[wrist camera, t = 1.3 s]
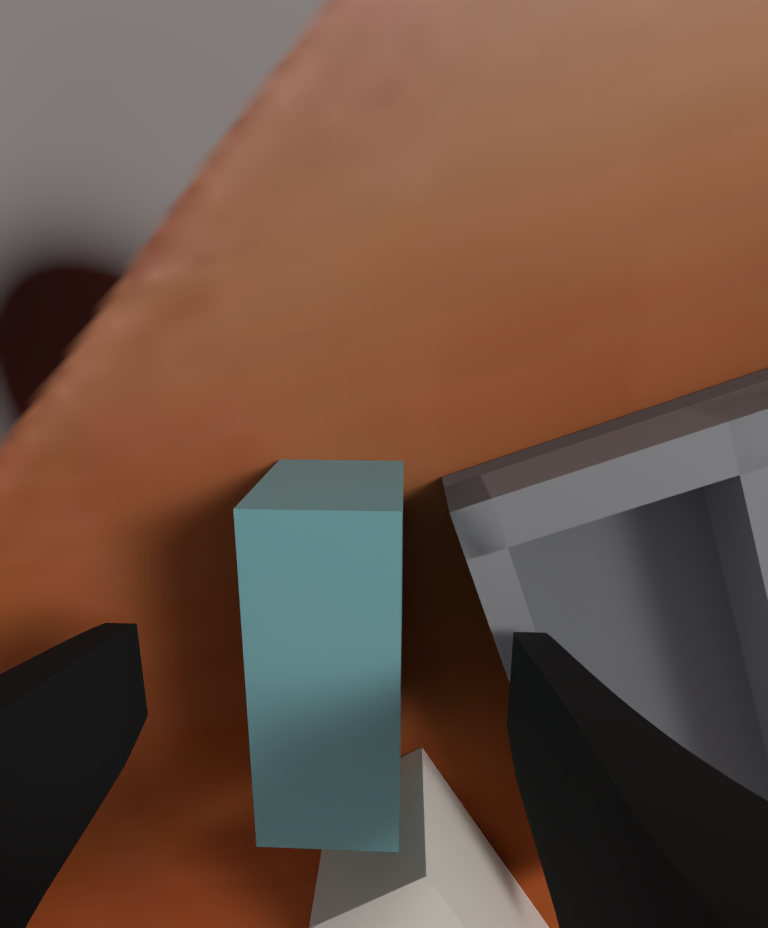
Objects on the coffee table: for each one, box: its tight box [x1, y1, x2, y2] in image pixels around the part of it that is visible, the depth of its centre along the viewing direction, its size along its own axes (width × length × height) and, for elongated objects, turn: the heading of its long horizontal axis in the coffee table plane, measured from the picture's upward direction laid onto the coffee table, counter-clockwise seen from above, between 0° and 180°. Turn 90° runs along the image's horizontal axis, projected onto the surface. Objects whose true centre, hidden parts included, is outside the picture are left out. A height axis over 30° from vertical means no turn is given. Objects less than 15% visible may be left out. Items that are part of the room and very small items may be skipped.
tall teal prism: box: [233, 460, 404, 852], centre depth 12 cm, size 7×3×4 cm, turn 0°
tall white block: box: [309, 747, 549, 928], centre depth 14 cm, size 7×3×4 cm, turn 32°
